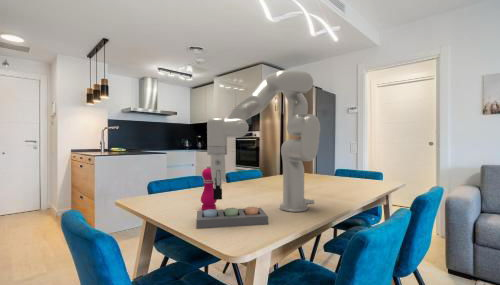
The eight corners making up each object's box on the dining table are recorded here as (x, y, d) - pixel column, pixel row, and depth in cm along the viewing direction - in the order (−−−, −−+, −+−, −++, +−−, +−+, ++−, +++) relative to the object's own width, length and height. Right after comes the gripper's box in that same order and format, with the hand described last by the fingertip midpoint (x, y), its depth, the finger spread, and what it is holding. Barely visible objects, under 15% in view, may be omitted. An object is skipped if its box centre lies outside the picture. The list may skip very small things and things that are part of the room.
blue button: (216, 216, 100) (216, 208, 100) (217, 220, 95) (217, 212, 95) (203, 217, 99) (203, 209, 99) (203, 221, 94) (203, 213, 94)
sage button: (236, 215, 102) (236, 207, 102) (238, 218, 97) (238, 211, 97) (224, 215, 101) (224, 208, 101) (225, 219, 96) (225, 211, 96)
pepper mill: (213, 211, 112) (213, 165, 112) (198, 210, 113) (198, 165, 113) (219, 207, 119) (219, 164, 119) (204, 206, 120) (204, 163, 120)
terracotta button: (256, 214, 103) (256, 206, 103) (259, 217, 98) (259, 209, 98) (244, 214, 102) (244, 207, 102) (246, 218, 97) (246, 210, 97)
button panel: (260, 214, 107) (260, 207, 107) (268, 224, 95) (268, 216, 95) (197, 218, 102) (197, 210, 102) (196, 228, 91) (196, 220, 91)
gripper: (229, 151, 91) (229, 203, 91) (225, 149, 106) (225, 194, 106) (207, 152, 90) (208, 204, 90) (207, 150, 104) (207, 195, 105)
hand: (217, 199), depth 98 cm, fingers closed
